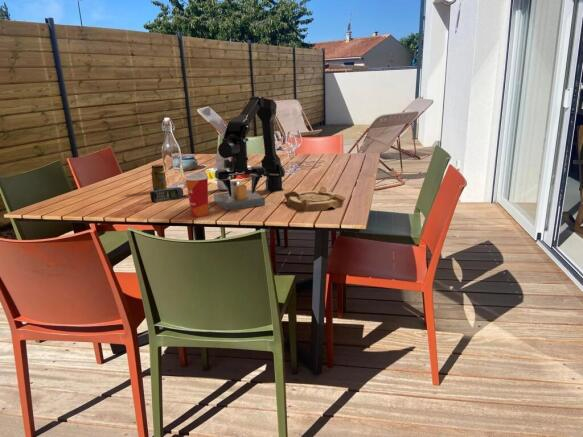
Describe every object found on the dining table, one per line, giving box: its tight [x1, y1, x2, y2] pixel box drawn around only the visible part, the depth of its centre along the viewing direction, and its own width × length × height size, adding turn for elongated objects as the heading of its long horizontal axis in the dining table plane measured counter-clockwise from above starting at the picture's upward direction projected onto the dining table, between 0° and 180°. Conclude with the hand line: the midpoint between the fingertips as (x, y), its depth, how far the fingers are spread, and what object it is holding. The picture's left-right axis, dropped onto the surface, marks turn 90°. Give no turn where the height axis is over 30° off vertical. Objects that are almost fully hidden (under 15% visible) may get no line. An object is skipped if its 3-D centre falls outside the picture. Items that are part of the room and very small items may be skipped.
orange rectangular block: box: [236, 183, 248, 200], centre depth 170 cm, size 3×3×8 cm
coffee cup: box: [184, 172, 209, 218], centre depth 158 cm, size 8×8×15 cm
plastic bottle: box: [214, 145, 232, 191], centre depth 196 cm, size 6×7×20 cm
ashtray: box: [283, 186, 346, 212], centre depth 171 cm, size 24×24×5 cm
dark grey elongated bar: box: [149, 186, 187, 203], centre depth 183 cm, size 5×3×15 cm
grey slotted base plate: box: [213, 180, 266, 211], centre depth 174 cm, size 16×16×8 cm
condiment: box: [150, 164, 168, 192], centre depth 197 cm, size 7×8×12 cm
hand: (241, 194), depth 170 cm, fingers open, 9 cm apart
